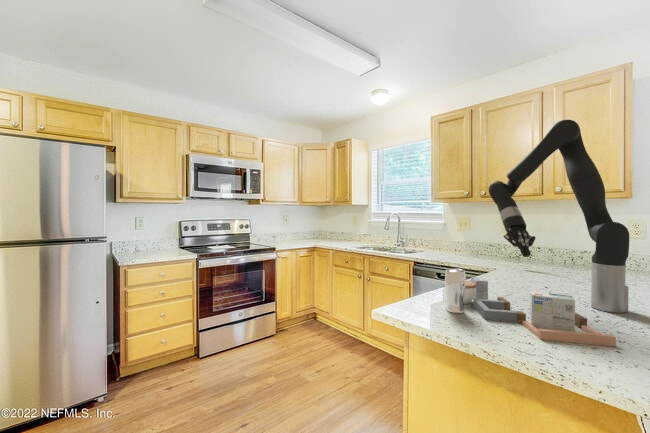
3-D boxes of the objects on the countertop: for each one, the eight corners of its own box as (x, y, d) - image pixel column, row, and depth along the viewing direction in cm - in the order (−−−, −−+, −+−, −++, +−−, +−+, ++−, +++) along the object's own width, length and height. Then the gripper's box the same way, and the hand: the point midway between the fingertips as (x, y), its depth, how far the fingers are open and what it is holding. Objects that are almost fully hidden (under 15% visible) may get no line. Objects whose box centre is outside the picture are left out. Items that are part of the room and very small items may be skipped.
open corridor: (552, 308, 110) (552, 300, 110) (587, 328, 91) (587, 318, 91) (497, 304, 115) (497, 296, 115) (519, 322, 95) (519, 313, 95)
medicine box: (488, 302, 117) (488, 281, 117) (476, 301, 118) (476, 280, 118) (481, 297, 125) (481, 277, 125) (470, 296, 126) (470, 276, 126)
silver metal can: (469, 314, 104) (469, 272, 103) (449, 313, 104) (449, 272, 103) (460, 307, 110) (460, 268, 110) (441, 307, 111) (442, 268, 110)
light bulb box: (571, 328, 91) (571, 294, 91) (575, 336, 85) (576, 299, 85) (529, 322, 96) (529, 289, 96) (531, 328, 90) (531, 294, 90)
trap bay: (502, 308, 110) (502, 300, 110) (517, 321, 96) (517, 312, 96) (473, 306, 112) (473, 298, 112) (484, 319, 98) (484, 310, 98)
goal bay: (587, 329, 90) (587, 321, 90) (615, 346, 79) (615, 337, 79) (522, 324, 94) (522, 316, 94) (540, 339, 83) (540, 330, 83)
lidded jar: (448, 296, 126) (449, 274, 126) (476, 300, 121) (477, 277, 120) (445, 302, 117) (445, 279, 117) (475, 307, 111) (475, 282, 111)
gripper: (503, 212, 119) (518, 249, 109) (533, 216, 120) (550, 253, 110) (492, 222, 125) (505, 258, 115) (520, 226, 126) (535, 262, 116)
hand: (527, 256), depth 113 cm, fingers closed
